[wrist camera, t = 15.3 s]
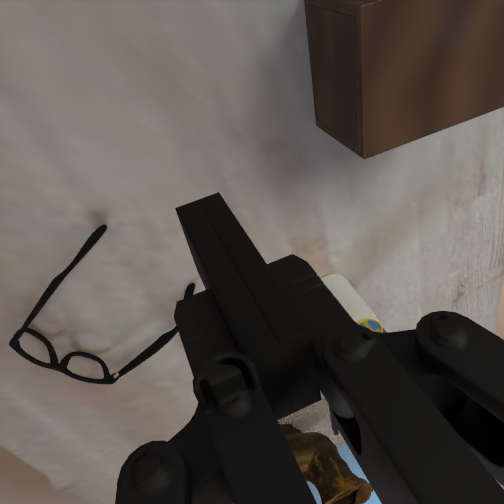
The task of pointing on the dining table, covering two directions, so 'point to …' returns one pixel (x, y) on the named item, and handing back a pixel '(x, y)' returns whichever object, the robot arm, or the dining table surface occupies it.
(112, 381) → the glasses
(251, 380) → the robot arm
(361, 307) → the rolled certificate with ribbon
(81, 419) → the dining table surface
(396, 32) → the brown flat panel
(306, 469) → the pottery vessel
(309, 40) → the chest
